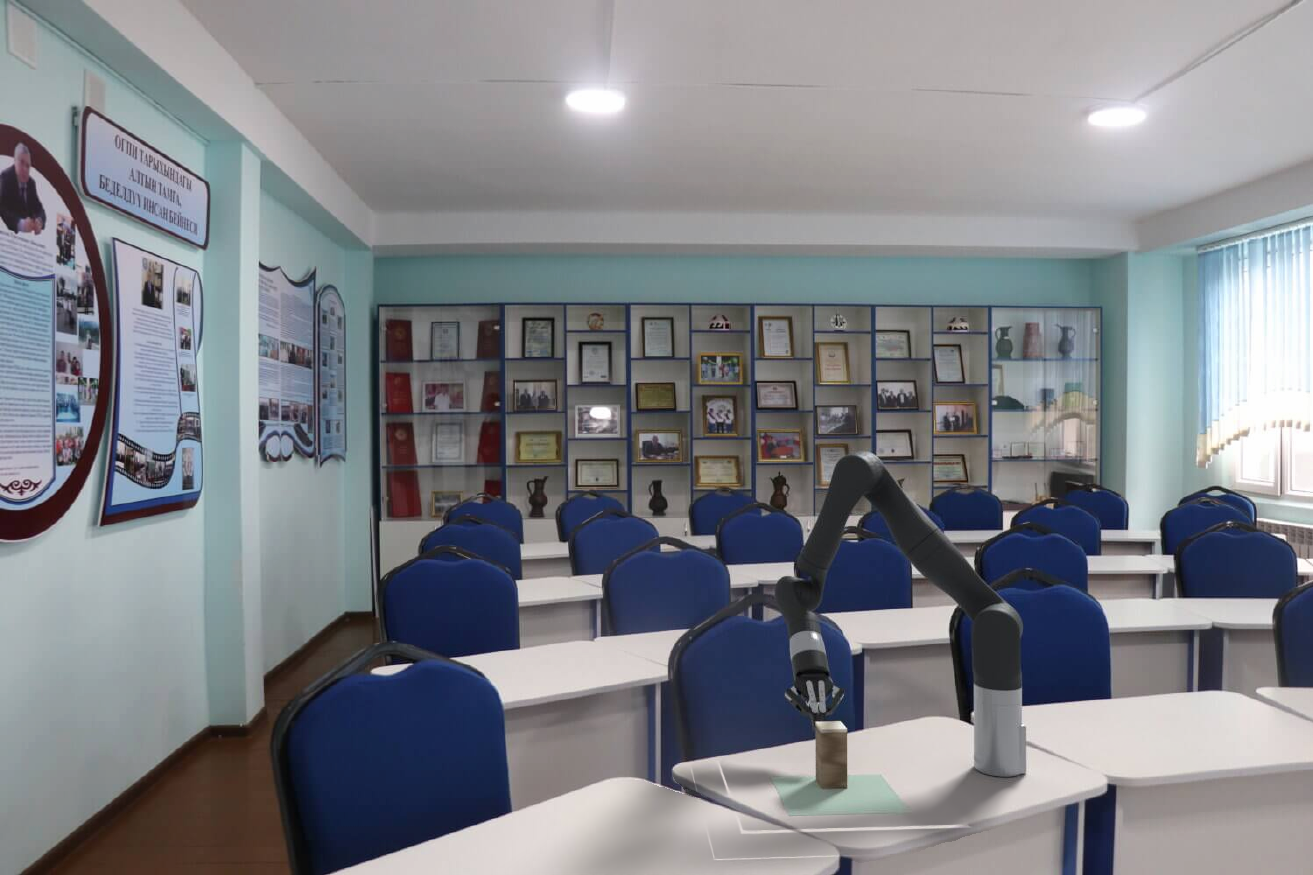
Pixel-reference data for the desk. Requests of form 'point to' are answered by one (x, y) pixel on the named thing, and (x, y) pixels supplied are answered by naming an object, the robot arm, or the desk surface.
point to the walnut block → (831, 755)
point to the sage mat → (838, 796)
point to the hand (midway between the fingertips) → (821, 732)
